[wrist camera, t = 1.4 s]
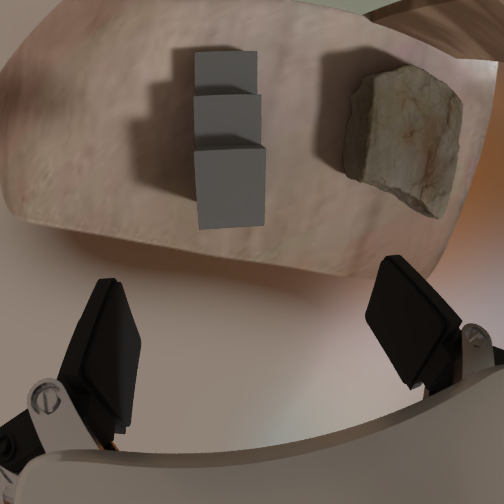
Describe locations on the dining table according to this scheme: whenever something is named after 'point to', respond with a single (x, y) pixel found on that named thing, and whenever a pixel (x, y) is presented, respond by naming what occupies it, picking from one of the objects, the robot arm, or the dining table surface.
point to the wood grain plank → (450, 25)
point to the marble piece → (405, 137)
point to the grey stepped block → (228, 141)
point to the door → (353, 4)
